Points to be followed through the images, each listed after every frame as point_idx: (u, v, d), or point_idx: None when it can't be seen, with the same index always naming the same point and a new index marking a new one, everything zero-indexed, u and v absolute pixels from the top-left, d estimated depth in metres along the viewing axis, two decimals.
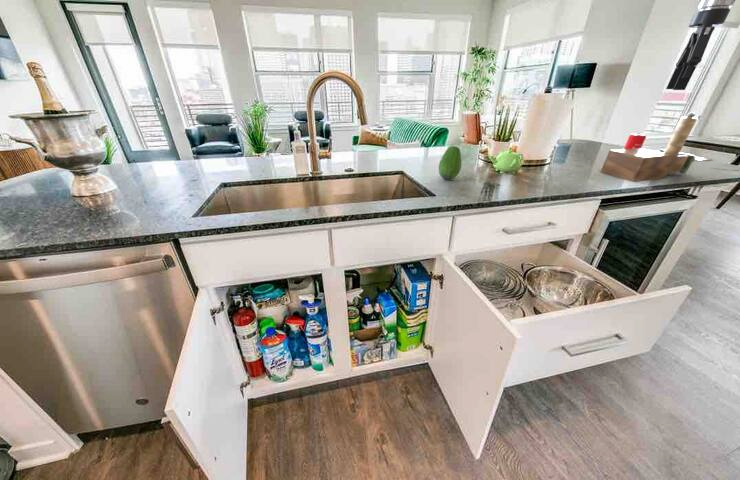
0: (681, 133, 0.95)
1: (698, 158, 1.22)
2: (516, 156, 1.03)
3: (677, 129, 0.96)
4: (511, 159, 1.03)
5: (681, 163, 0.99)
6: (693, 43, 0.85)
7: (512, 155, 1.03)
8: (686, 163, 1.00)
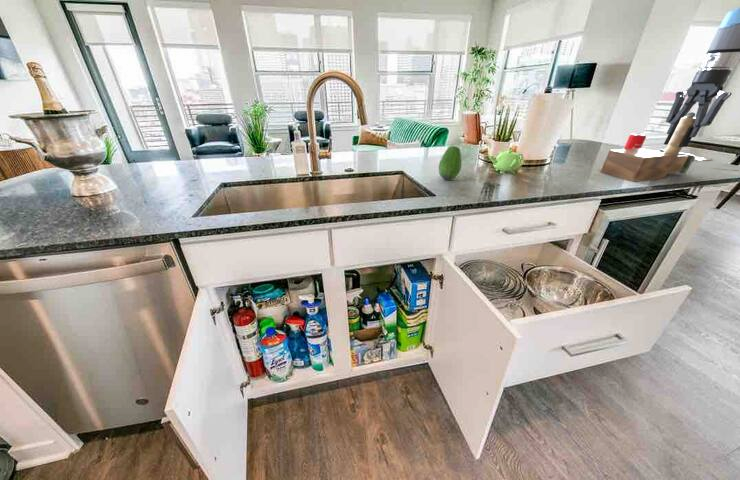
0: (681, 133, 0.95)
1: (698, 158, 1.22)
2: (516, 156, 1.03)
3: (677, 129, 0.96)
4: (511, 159, 1.03)
5: (681, 163, 0.99)
6: (704, 103, 0.90)
7: (512, 155, 1.03)
8: (686, 163, 1.00)
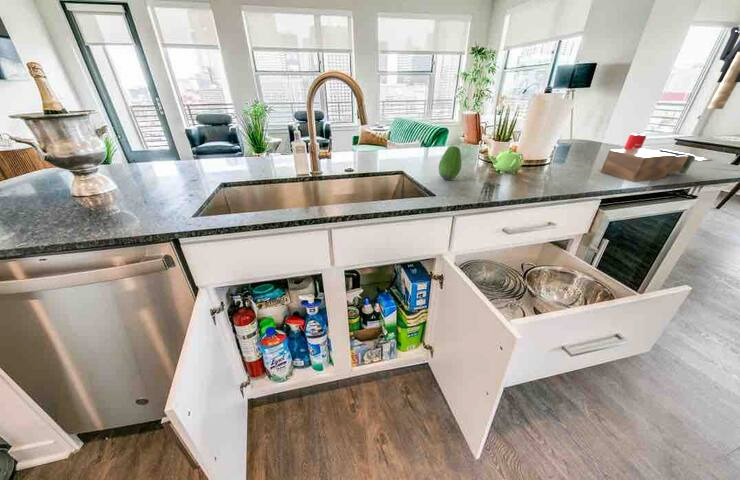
0: (738, 68, 0.97)
1: (698, 158, 1.22)
2: (516, 156, 1.03)
3: (733, 64, 0.97)
4: (511, 159, 1.03)
5: (681, 163, 0.99)
6: None
7: (512, 155, 1.03)
8: (686, 163, 1.00)
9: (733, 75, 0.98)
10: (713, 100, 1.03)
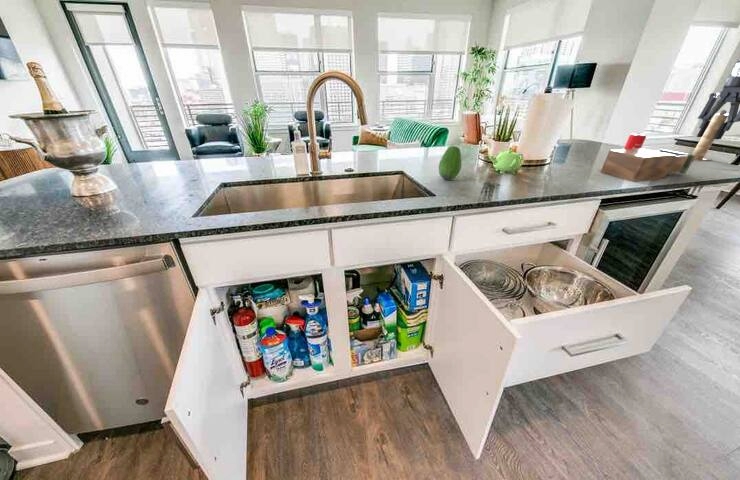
0: (714, 127, 1.15)
1: None
2: (516, 156, 1.03)
3: (711, 124, 1.16)
4: (511, 159, 1.03)
5: (681, 163, 0.99)
6: (735, 103, 1.09)
7: (512, 155, 1.03)
8: (686, 163, 1.00)
9: (711, 133, 1.16)
10: (695, 151, 1.22)
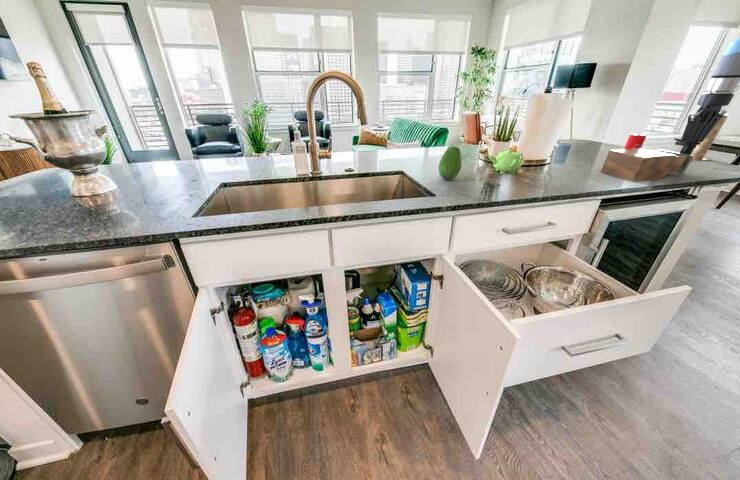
0: (714, 127, 1.15)
1: None
2: (516, 156, 1.03)
3: None
4: (511, 159, 1.03)
5: (679, 163, 0.99)
6: None
7: (512, 155, 1.03)
8: (684, 163, 1.00)
9: (711, 133, 1.16)
10: (695, 151, 1.22)
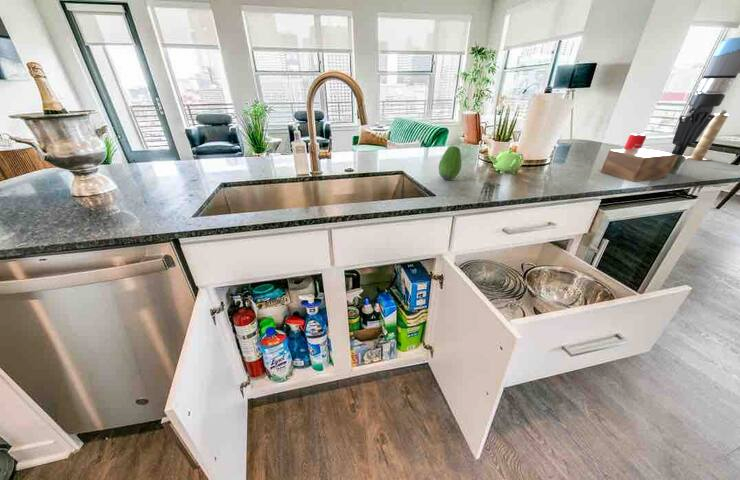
0: (714, 127, 1.15)
1: None
2: (516, 156, 1.03)
3: (711, 124, 1.16)
4: (511, 159, 1.03)
5: None
6: None
7: (512, 155, 1.03)
8: (676, 164, 0.99)
9: (711, 133, 1.16)
10: (695, 151, 1.22)
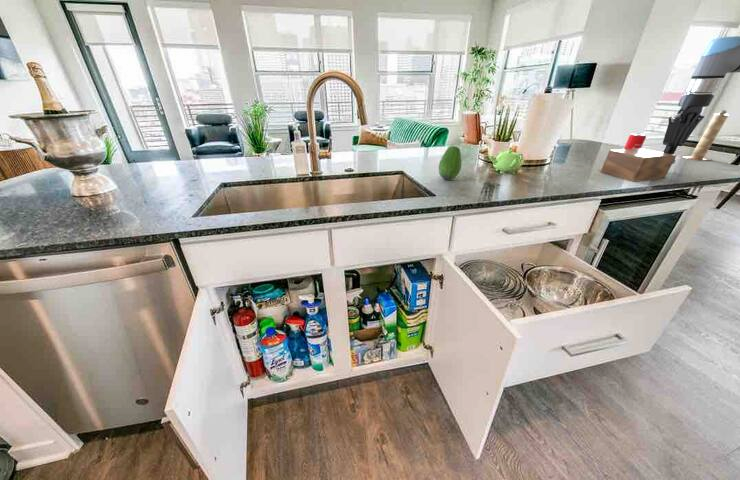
0: (714, 127, 1.15)
1: None
2: (516, 156, 1.03)
3: (711, 124, 1.16)
4: (511, 159, 1.03)
5: None
6: None
7: (512, 155, 1.03)
8: None
9: (711, 133, 1.16)
10: (695, 151, 1.22)
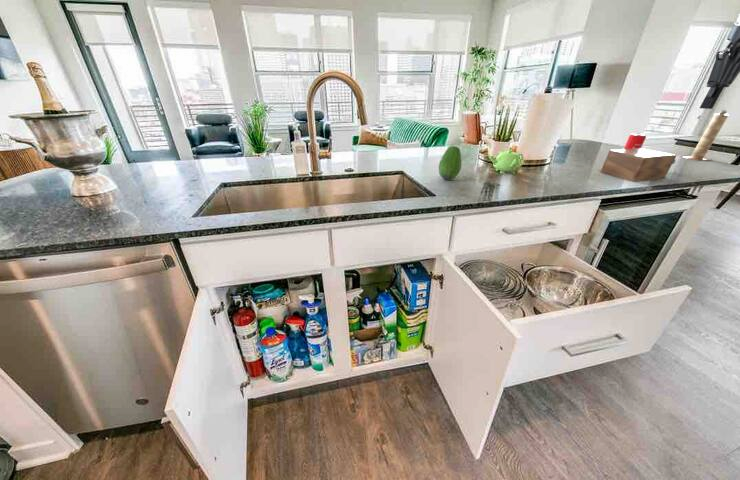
0: (714, 127, 1.15)
1: None
2: (516, 156, 1.03)
3: (711, 124, 1.16)
4: (511, 159, 1.03)
5: None
6: None
7: (512, 155, 1.03)
8: None
9: (711, 133, 1.16)
10: (695, 151, 1.22)
